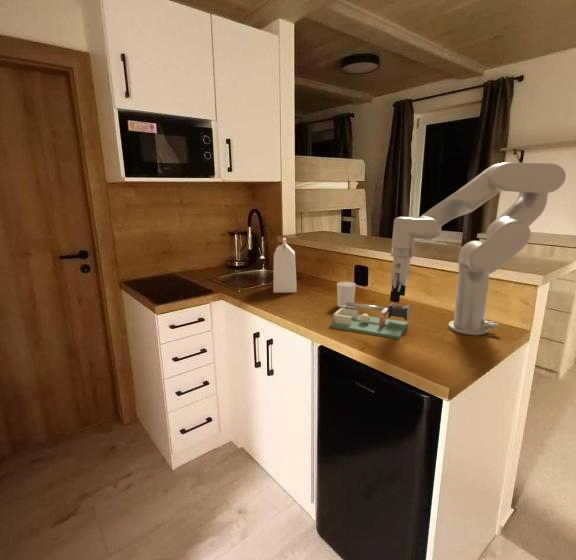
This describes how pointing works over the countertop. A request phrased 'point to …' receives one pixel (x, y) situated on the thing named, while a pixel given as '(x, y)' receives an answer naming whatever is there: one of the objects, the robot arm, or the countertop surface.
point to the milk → (284, 269)
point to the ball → (364, 318)
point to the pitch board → (373, 326)
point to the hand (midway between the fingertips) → (397, 298)
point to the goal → (345, 316)
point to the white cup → (345, 293)
